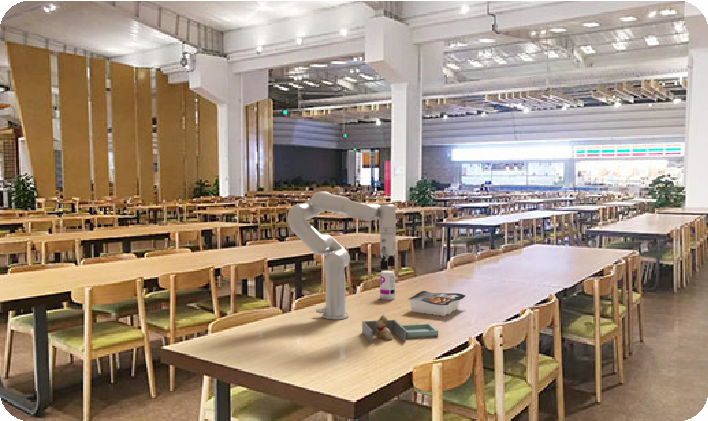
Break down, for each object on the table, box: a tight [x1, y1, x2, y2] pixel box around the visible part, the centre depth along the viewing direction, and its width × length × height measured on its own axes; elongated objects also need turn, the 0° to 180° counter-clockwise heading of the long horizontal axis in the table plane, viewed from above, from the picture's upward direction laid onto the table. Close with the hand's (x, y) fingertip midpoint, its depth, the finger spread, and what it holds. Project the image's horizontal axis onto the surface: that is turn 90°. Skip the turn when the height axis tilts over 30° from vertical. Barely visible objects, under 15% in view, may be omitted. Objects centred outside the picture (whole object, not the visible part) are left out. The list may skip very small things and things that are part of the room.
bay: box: [361, 319, 407, 345], centre depth 235 cm, size 15×16×5 cm
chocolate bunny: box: [375, 314, 393, 341], centre depth 233 cm, size 6×8×10 cm
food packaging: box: [406, 290, 466, 317], centre depth 282 cm, size 25×8×23 cm
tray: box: [400, 323, 439, 339], centre depth 240 cm, size 14×12×2 cm
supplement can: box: [379, 270, 396, 301], centre depth 310 cm, size 8×8×15 cm
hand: (387, 267), depth 261 cm, fingers open, 9 cm apart
